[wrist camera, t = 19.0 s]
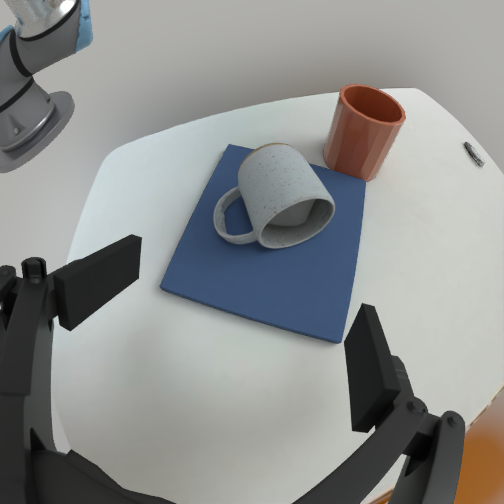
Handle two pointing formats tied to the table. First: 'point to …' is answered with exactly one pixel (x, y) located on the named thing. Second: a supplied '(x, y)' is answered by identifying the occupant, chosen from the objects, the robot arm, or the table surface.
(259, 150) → the ceramic mug
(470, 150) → the oval pebble
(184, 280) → the blue mat
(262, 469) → the table surface
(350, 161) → the clay cup
